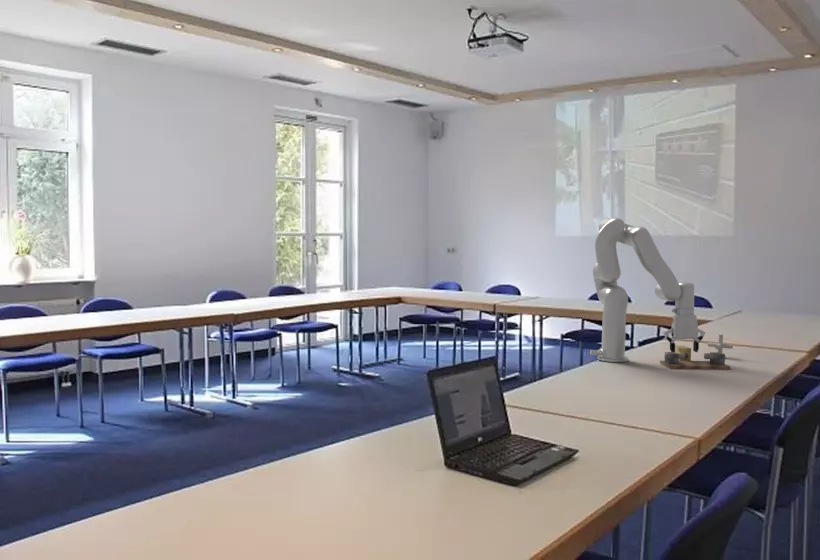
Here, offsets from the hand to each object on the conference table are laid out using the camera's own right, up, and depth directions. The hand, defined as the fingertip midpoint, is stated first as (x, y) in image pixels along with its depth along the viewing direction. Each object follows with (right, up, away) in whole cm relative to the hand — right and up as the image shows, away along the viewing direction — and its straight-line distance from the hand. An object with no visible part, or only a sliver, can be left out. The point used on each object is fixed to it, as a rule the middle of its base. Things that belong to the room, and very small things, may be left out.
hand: (684, 351), depth 314 cm
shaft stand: (-1, -5, -13) cm, 14 cm away
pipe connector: (+19, -4, +11) cm, 22 cm away
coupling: (-1, -4, 0) cm, 4 cm away
